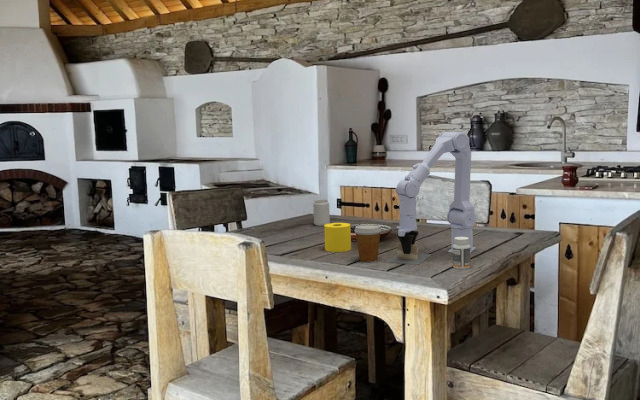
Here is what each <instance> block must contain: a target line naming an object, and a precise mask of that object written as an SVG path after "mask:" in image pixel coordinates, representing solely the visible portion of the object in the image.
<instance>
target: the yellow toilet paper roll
mask: <svg viewBox="0 0 640 400" xmlns="http://www.w3.org/2000/svg"><path fill="white" fill-rule="evenodd" d="M323 227H324V230H323V231H324V251H327V252H330V253H344V252H348V251H351V250H352V237H351V236H352V235H351V234H352V231H351V230H352V229H351V223H348V222H332V223H331V222H330V223H329V224H325V225H324V226H323Z"/></svg>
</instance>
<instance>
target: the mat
mask: <svg viewBox="0 0 640 400" xmlns="http://www.w3.org/2000/svg"><path fill="white" fill-rule="evenodd" d="M431 256H433V254H432V253H431V254H430V253H419V252H418V259H417V260H413V259H401V258H397V254H395V255H393V256H392V257H390V258H388V259H387V260H385V263H389V264H391V263H392V264H404V265H416V266H417V265H418V266H420V265H421V264H422V263H423V262H425V261H427V260H428V259H429V258H430V257H431Z"/></svg>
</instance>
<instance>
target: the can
mask: <svg viewBox="0 0 640 400" xmlns="http://www.w3.org/2000/svg"><path fill="white" fill-rule="evenodd" d="M312 209H313V224H314V225H315V226H316V227H324V225H325V224H330V223H331V219H330V218H331V216H330V202H328V199H315V200H314V202H313V206H312Z"/></svg>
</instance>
